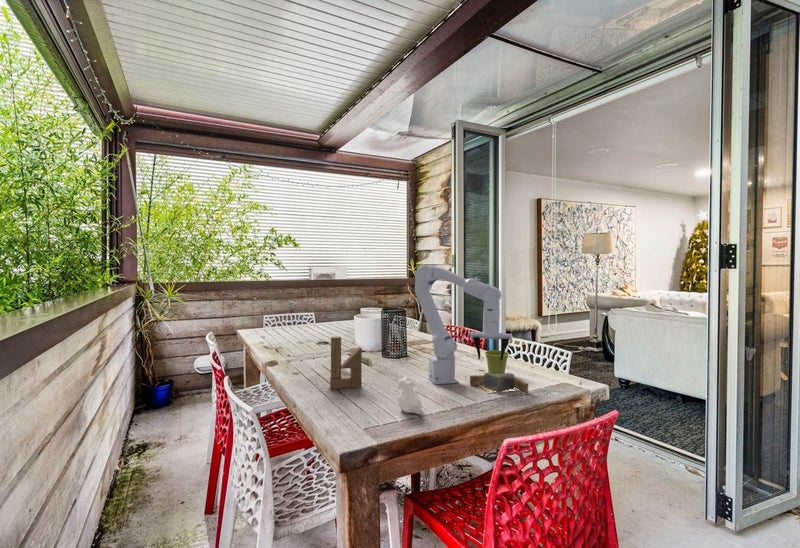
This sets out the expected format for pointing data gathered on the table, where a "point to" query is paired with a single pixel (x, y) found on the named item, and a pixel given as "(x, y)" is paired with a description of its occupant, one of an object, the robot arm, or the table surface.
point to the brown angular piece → (352, 362)
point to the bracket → (499, 381)
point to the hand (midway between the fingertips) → (490, 359)
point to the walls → (480, 378)
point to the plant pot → (496, 361)
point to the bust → (408, 396)
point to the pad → (486, 388)
